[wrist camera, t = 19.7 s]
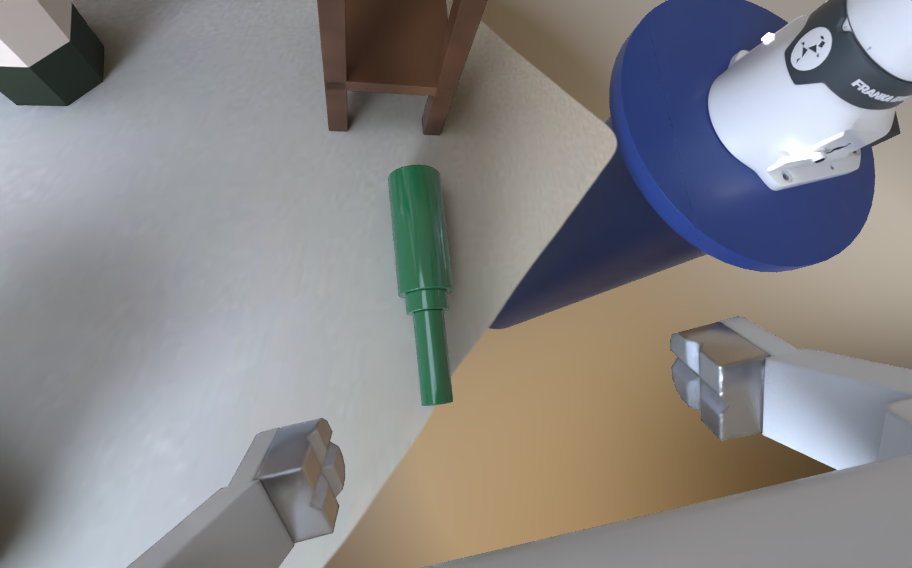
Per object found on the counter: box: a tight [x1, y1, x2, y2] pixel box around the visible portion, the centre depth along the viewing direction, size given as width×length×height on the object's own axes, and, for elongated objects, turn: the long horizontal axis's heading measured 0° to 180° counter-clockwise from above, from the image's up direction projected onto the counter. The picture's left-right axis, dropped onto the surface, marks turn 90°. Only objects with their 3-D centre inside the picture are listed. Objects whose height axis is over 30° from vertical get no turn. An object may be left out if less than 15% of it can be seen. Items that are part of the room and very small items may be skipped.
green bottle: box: [388, 165, 454, 406], centre depth 34 cm, size 18×4×4 cm
